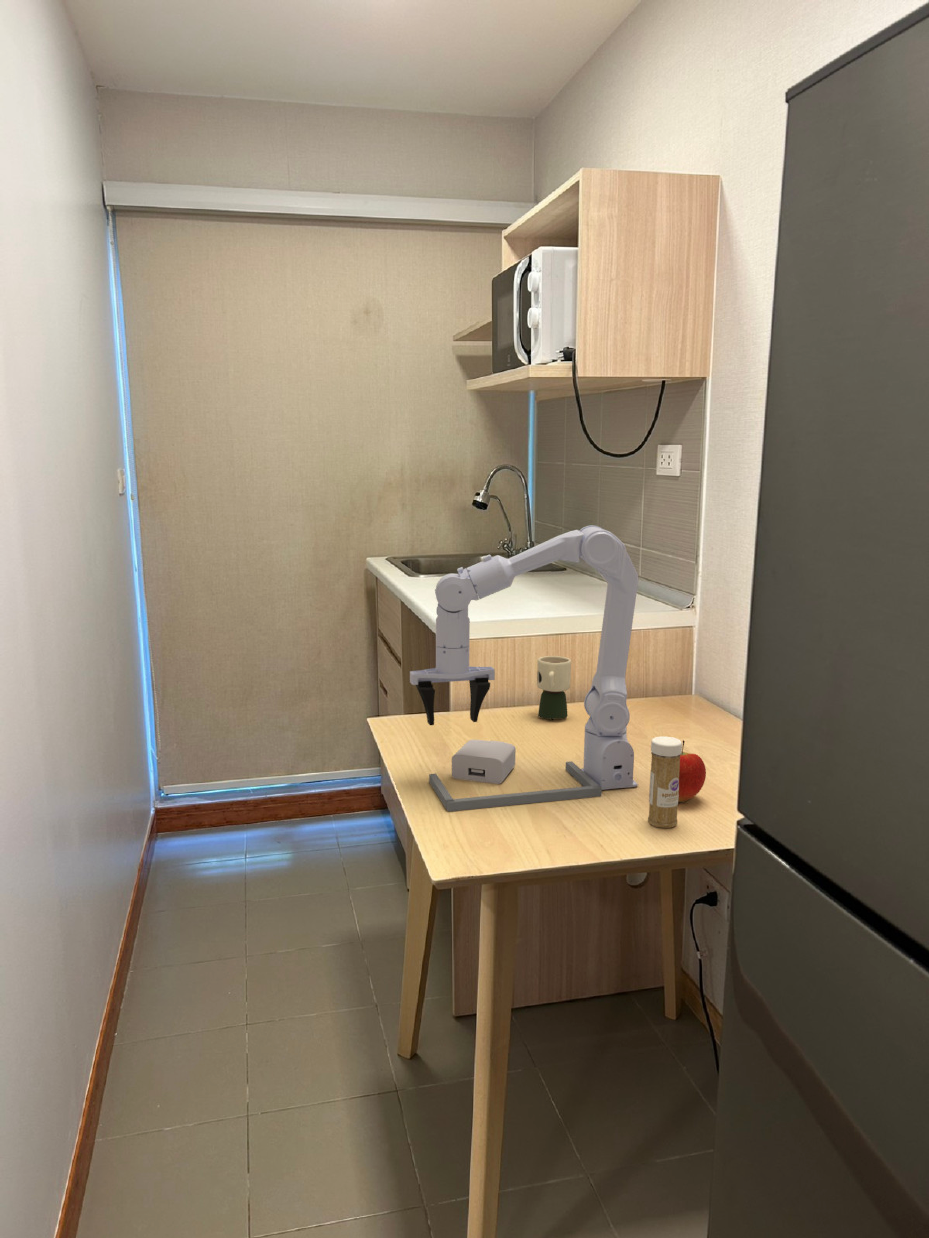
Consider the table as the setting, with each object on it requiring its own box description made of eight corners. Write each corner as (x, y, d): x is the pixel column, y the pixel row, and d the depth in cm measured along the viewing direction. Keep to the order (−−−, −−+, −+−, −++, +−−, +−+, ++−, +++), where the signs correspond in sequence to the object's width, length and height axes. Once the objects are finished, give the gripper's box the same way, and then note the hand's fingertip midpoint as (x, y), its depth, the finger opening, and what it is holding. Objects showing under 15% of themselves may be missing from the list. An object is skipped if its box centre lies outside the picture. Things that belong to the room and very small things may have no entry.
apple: (644, 800, 147) (646, 742, 145) (667, 786, 153) (670, 730, 151) (689, 813, 142) (692, 753, 140) (711, 798, 148) (715, 741, 146)
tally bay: (601, 796, 149) (601, 787, 148) (447, 811, 142) (447, 802, 141) (571, 769, 161) (571, 761, 161) (429, 782, 154) (429, 773, 154)
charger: (523, 757, 168) (502, 785, 154) (476, 752, 170) (451, 779, 156) (524, 733, 167) (502, 759, 153) (477, 728, 170) (451, 753, 156)
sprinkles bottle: (668, 831, 135) (673, 746, 132) (642, 823, 138) (645, 740, 135) (682, 822, 138) (687, 739, 136) (656, 814, 141) (660, 733, 139)
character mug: (540, 709, 198) (541, 652, 195) (572, 712, 196) (573, 654, 194) (532, 724, 187) (533, 664, 185) (566, 726, 186) (568, 666, 183)
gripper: (486, 638, 157) (486, 712, 159) (406, 642, 153) (406, 718, 156) (498, 646, 150) (497, 724, 153) (414, 651, 147) (414, 730, 149)
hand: (452, 722), depth 154 cm, fingers open, 7 cm apart
